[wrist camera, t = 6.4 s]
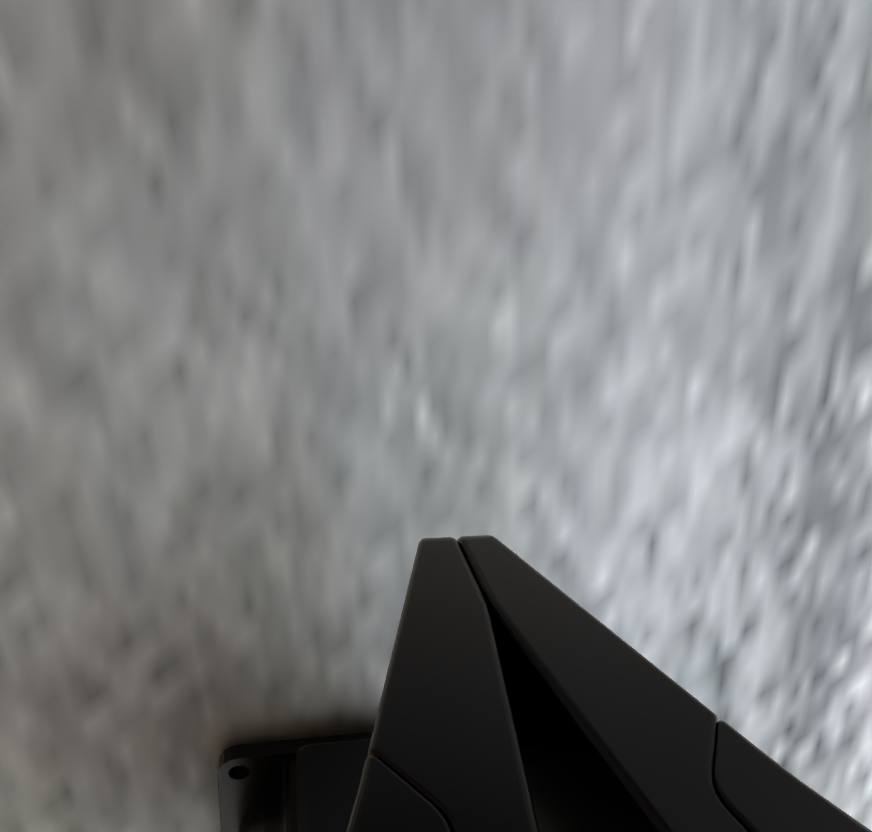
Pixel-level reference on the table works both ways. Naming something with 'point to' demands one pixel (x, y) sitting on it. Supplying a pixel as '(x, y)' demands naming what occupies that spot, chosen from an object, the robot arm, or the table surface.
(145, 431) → the table surface
